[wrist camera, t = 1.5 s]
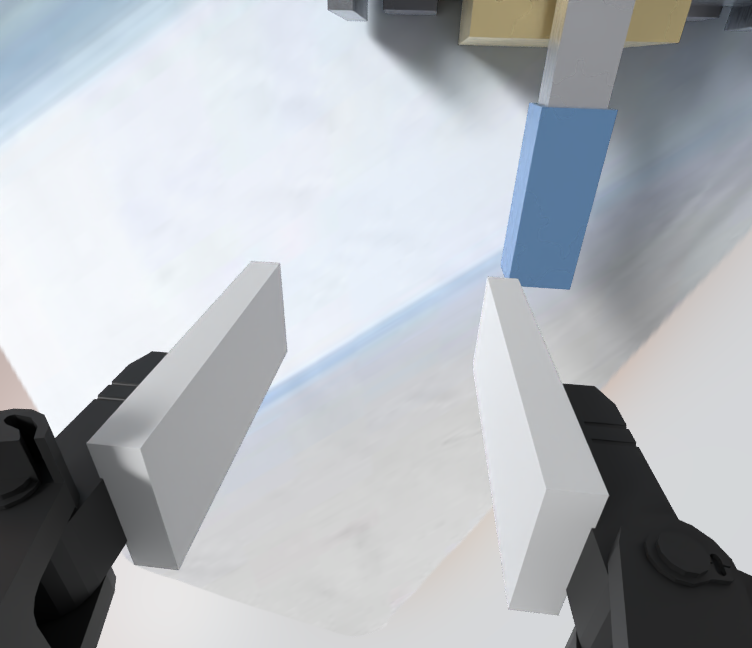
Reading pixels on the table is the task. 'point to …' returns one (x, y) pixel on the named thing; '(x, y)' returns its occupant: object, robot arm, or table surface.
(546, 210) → the lever
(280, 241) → the table surface
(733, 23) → the valve
